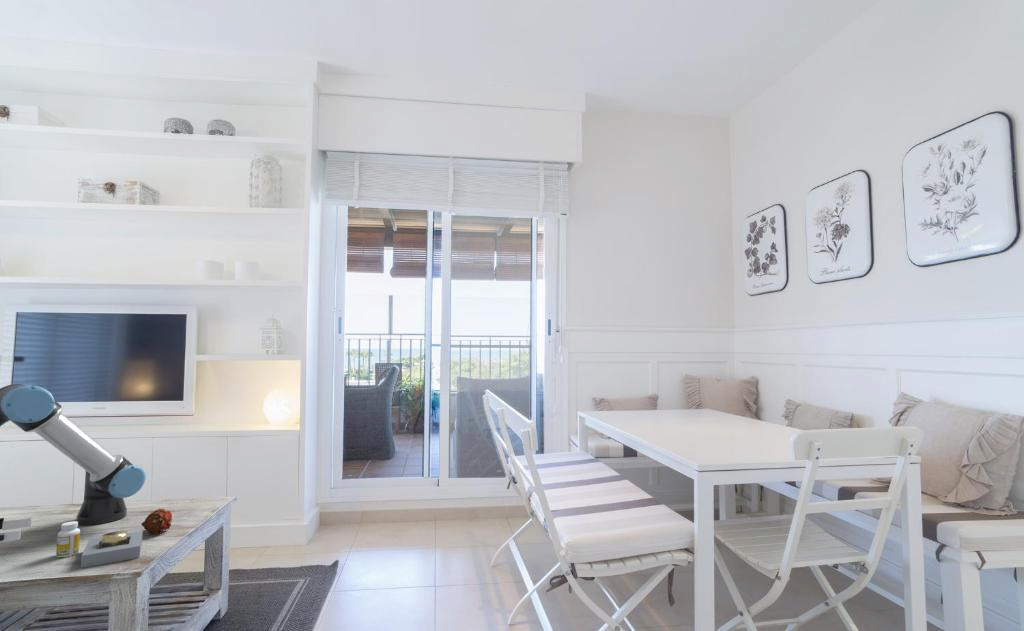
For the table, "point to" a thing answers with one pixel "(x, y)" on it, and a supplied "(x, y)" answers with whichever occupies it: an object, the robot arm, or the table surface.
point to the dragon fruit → (158, 521)
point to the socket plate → (111, 550)
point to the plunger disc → (114, 538)
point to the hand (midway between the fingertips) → (26, 528)
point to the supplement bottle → (68, 539)
